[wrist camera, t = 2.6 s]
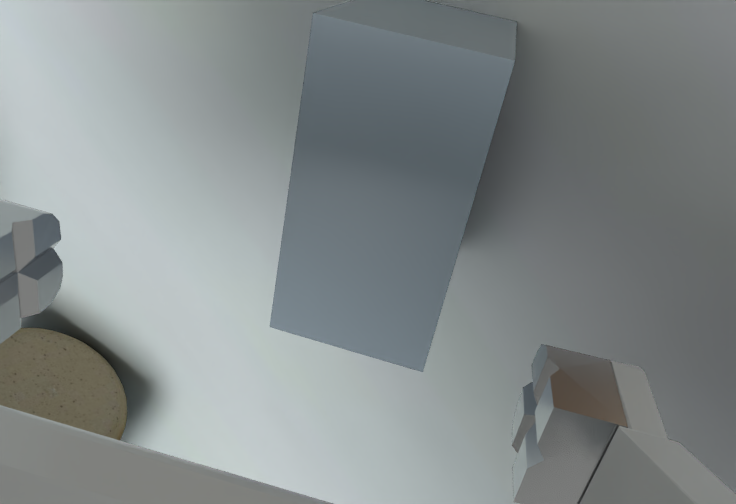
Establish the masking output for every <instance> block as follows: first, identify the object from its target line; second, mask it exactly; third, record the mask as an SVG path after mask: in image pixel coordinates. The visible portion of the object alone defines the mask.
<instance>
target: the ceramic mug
mask: <svg viewBox="0 0 736 504" xmlns="http://www.w3.org/2000/svg"><path fill="white" fill-rule="evenodd" d="M0 405H2V406H5V407H8V408H12V409H15V410H18V411H22V412H25V413H29V414H32V415H35V416H39V417H42V418H45V419H49V420H52V421H56V422H59V423H62V424H66V425H69V426H72V427H76V428H79V429H83V430H86V431H89V432H93V433H96V434H99V435H103V436H106V437H110V438H113V439H116V440H121V438H122V435H123V432H124V428H125V425H126V419H127V401H126V395H125V392H124V388H123V385H122V383H121V382H120V380H119V378H118V376H117V374H116V373H115V371H114V369H113V368H112V367H111V365H110V364H109V363H108V362H107V361H106V360H105V359H104V358H103V357H102V356H101V355H100V354H99V353H97V352H96V351H95V350H94V349H92V348H91V347H89V346H88V345H87V344H85V343H84V342H81V341H79V340H77V339H75V338H73V337H70V336H68V335H65V334H63V333H60V332H56V331H52V330H47V329H42V328H20V329H19V330H18V331H16V332H15V333H14V334H13V335H11V336H10V337H9V338H7V339H6V340H5V341H4V342H2V343H1V344H0Z"/></svg>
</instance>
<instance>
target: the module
mask: <svg viewBox="0 0 736 504" xmlns="http://www.w3.org/2000/svg"><path fill="white" fill-rule="evenodd" d="M516 30H517V22H516V21H512V20H507V19H503V18H498V17H494V16H490V15H485V14H481V13H477V12H472V11H468V10H464V9H459V8H455V7H451V6H446V5H442V4H437V3H433V2H429V1H424V0H353V1H350V2H346V3H343V4H340V5H337V6H334V7H330V8H327V9H324V10H321V11H318V12H314V13H313V17H312V25H311V32H310V39H309V46H308V54H307V61H306V68H305V75H304V82H303V90H302V97H301V104H300V111H299V119H298V126H297V133H296V140H295V147H294V155H293V162H292V169H291V176H290V184H289V191H288V198H287V205H286V213H285V220H284V227H283V234H282V241H281V249H280V256H279V263H278V270H277V278H276V285H275V292H274V299H273V306H272V314H271V321H270V327H272V328H275V329H278V330H282V331H285V332H289V333H292V334H295V335H299V336H302V337H305V338H309V339H312V340H316V341H319V342H322V343H326V344H329V345H333V346H336V347H339V348H343V349H346V350H349V351H353V352H356V353H360V354H363V355H366V356H370V357H373V358H377V359H380V360H383V361H387V362H390V363H393V364H397V365H400V366H404V367H407V368H410V369H414V370H417V371H420V372H423V369H424V366H425V363H426V359H427V356H428V353H429V349H430V346H431V343H432V339H433V336H434V332H435V329H436V326H437V322H438V319H439V316H440V312H441V309H442V306H443V302H444V299H445V295H446V292H447V289H448V285H449V282H450V279H451V275H452V272H453V268H454V265H455V262H456V258H457V255H458V252H459V248H460V245H461V242H462V238H463V235H464V231H465V228H466V225H467V221H468V218H469V215H470V211H471V208H472V205H473V201H474V198H475V194H476V191H477V188H478V184H479V181H480V178H481V174H482V171H483V167H484V164H485V161H486V157H487V154H488V151H489V147H490V144H491V141H492V137H493V134H494V130H495V127H496V124H497V120H498V117H499V114H500V110H501V107H502V104H503V100H504V97H505V93H506V90H507V87H508V83H509V80H510V77H511V73H512V70H513V67H514V63H515V54H516Z"/></svg>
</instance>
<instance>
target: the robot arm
mask: <svg viewBox="0 0 736 504" xmlns="http://www.w3.org/2000/svg"><path fill="white" fill-rule="evenodd" d="M60 240H61V234H60V224H59V221H58V220H57V218H56V217H55V216H54V215H53V214H51V213H48V212H44V211H41V210H37V209H34V208H30V207H27V206H23V205H20V204H16V203H13V202H9V201H6V200H2V199H0V344H1V343H2V342H4V341H5V340H6V339H7V338H9V337H10V336H11V335H13V334H14V333H15V332H16V331H18V330H19V329H20V328H21V321H22V318H24V317H28V316H32V315H35V314H39V313H41V312H42V311H43V310H44V309H46V308H47V307H48V306H49V305H50V304H51V303H52V302H53V300H54V298H55V297H56V295H57V293H58V292H59V290H60V287H61V282H62V277H63V266H62V261H61V260H60V258H59V257H58V255H57V254H56V252H55V250H54V249H53V248H54V247H55V246H56V245H57V244H58V242H59V241H60ZM532 379H533V382H531V383H530V384H528V385H526V386H525V387H523V389H522V392H521V395H520V397H519V400H518V403H517V407H516V411H515V415H514V419H513V427H512V446H513V448H514V449H515V450H516V452H517V453H518V454H517V457H516V459H515V462H514V464H513V467H512V471H513V501H514V502H516V503H520V504H736V494H735V493H734V492H733V491H732V490H731V489H730V488H729V487H727V486H726V485H725V484H724V483H723V482H722V481H721V480H720V479H719V478H718V477H717V476H715V475H714V474H713V473H712V472H711V471H710V470H709V469H708V468H707V467H706V466H705V465H703V464H702V463H701V462H700V461H699V460H698V459H697V458H696V457H695V456H694V455H692V454H691V453H690V452H689V451H688V450H687V449H686V448H685V447H684V446H683V445H682V444H680V443H679V442H676V441H673V440H669V439H668V436H667V433H666V430H665V428H664V425H663V422H662V419H661V416H660V414H659V411H658V408H657V405H656V402H655V400H654V397H653V394H652V391H651V388H650V386H649V383H648V380H647V377H646V374H645V372H644V370H643V369H641V368H640V367H638V366H633V365H629V364H624V363H620V362H615V361H611V360H607V359H602V358H598V357H594V356H590V355H586V354H582V353H577V352H573V351H569V350H565V349H561V348H556V347H552V346H548V345H543V344H542V345H541V346H540V348H539V350H538V351H537V353H536V356H535V358H534V361H533V363H532ZM0 504H333V503H329V502H326V501H322V500H319V499H316V498H312V497H309V496H306V495H302V494H299V493H295V492H292V491H289V490H285V489H282V488H279V487H275V486H272V485H268V484H265V483H262V482H258V481H255V480H252V479H248V478H245V477H241V476H238V475H235V474H231V473H228V472H225V471H221V470H218V469H214V468H211V467H208V466H204V465H201V464H197V463H194V462H191V461H187V460H184V459H180V458H177V457H174V456H170V455H167V454H163V453H160V452H157V451H153V450H150V449H147V448H143V447H140V446H136V445H133V444H130V443H126V442H123V441H120V440H116V439H113V438H110V437H106V436H103V435H99V434H96V433H93V432H89V431H86V430H83V429H79V428H76V427H72V426H69V425H66V424H62V423H59V422H56V421H52V420H49V419H45V418H42V417H39V416H35V415H32V414H29V413H25V412H22V411H18V410H15V409H12V408H8V407H5V406H2V405H0Z"/></svg>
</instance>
